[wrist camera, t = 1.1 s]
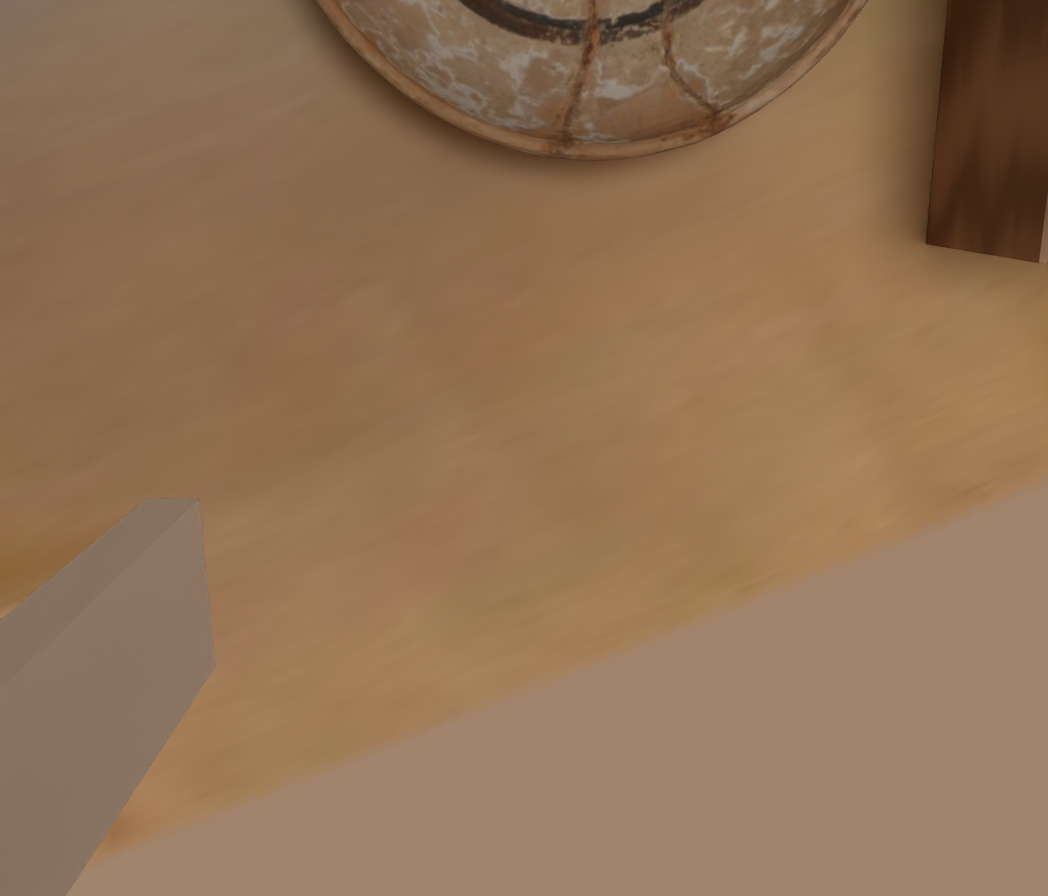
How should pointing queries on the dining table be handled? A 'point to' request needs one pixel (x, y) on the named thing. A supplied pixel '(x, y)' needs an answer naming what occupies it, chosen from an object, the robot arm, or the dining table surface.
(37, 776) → the robot arm
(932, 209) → the walnut block
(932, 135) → the dining table surface
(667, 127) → the ceramic bowl
